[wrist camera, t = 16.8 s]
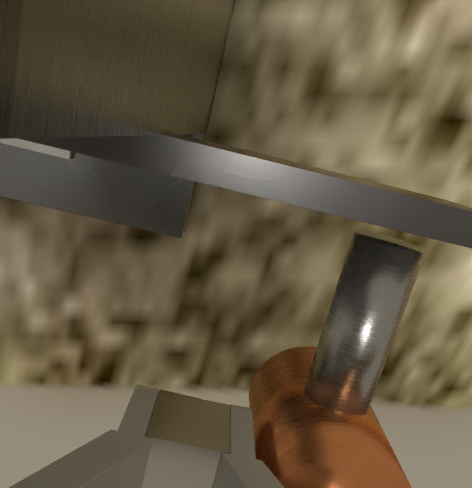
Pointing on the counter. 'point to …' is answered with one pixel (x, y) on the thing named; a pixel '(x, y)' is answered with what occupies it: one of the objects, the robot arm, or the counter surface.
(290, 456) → the lever
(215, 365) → the counter surface
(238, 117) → the counter surface
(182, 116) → the press
